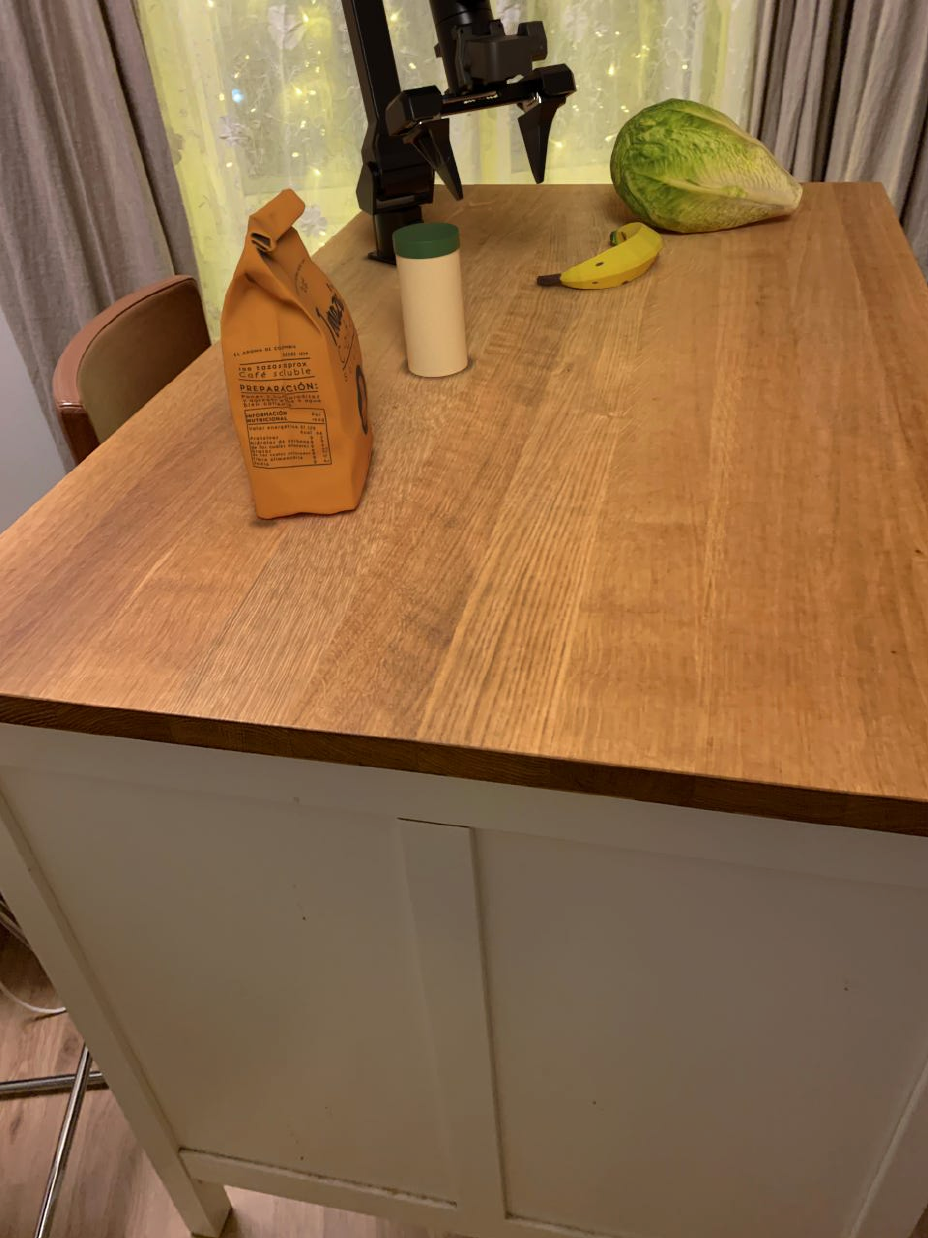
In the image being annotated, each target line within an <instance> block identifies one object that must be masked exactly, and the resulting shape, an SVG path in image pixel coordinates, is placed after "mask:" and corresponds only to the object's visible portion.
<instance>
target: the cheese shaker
mask: <svg viewBox="0 0 928 1238" xmlns="http://www.w3.org/2000/svg"><path fill="white" fill-rule="evenodd" d="M392 236H393V245H394V252H395V254H396V262H397V265H396V270H397V281H398V286H399V295H400V296H399V297H400V305H401V314H402V322H403V330H404V332H403V333H404V339H405V349H406V358H407V367H408V371H410V373H412V374H414V375H416V376H419V377H426V378H439V377H440V378H441V377H446V376H452V375H455V374H458V373H459V372H461V371H463V370H464V369H466V368H467V366H468V363H469V362H468V348H467V347H468V346H467V333H466V321H465V319H466V318H465V307H464V294H463V279H462V268H461V267H462V266H461V254H460V247H461V241H460V229H459V227H458V226H457V225H454V224H452V223H448V222H439V221H437V222H434V221H433V222H431V221H430V222H424V223H419V224H413V225H409V226H406V227H403V228H400V229H398V230H396V231H395V232H394V233H393V235H392Z"/></svg>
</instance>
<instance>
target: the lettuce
mask: <svg viewBox="0 0 928 1238" xmlns="http://www.w3.org/2000/svg"><path fill="white" fill-rule="evenodd" d="M609 175H610V180H611V183H612V185H613V188H614V190H615V193H616V194H617V196H618V197H619V198H620V199H621V201H622V202H623V203H624V204H625V205H626V207H627V208H628V209H629V211H630V212H631V213H632V214H633V215H634V216H635V217H637V218H639V219H641V220H642V221H644V222H646V223H647V224H649V225H651V226H654V227H657V228H661V229H665V230H668V231H674V232H677V233H683V234H686V233H689V234H690V233H707V232H715V231H720V230H725V229H732V228H736V227H740V226H745V225H748V224H750V223H751V224H752V223H754V222H760V221H763V220H767V219H771V218H775V217H776V218H777V217H780V216H786V215H792V214H793V213H794V212H795V211H796V210H797V208H798V207H799V205H801V203H802V198H803V192H804V187H803V186H802V184H800V183H799V181H797V179H796V178H795V177H794V176H793V175H791V173H790V172H788V171H787V170H786V168H785V167H784V166H783V165H782V163H781V162H780V161H779V160H778V159H777V158H776V156H775V155H773V153H772V152H771V151H770V150H769V148H768V147H767V146H766V145H765V144H764V143H763V142H762V141H761V140H759V139H757V138H756V137H755V136H753V135H752V134H751V133H749V132H747V130H745V129H744V128H742V127H741V126H740V125H739V124H738V123H736V122H735V121H734V120H733V119H732V118H730V116H728V115H727V114H726V113H724V112H722V111H721V110H720V111H719V110H717V109H715V108H713V107H711V106H707V105H705V104H702V103H699V102H696V101H695V100H691V99H690V100H689V99H683V98H675V97H671V98H668V99H665V100H663V101H660V102H658V103H655V104H652V105H649V106H647V107H645V108H642V109H641V110H640V111H638V112H637V113H636V114H634V115H633V116H632V117H631V118H629V119H628V120H626V121H625V122H624V124H623V126H622V127H621V128H620V130H619V131H618V133H617V135H616V137H615V141H614V144H613V147H612V150H611V154H610V160H609Z"/></svg>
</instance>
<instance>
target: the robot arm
mask: <svg viewBox="0 0 928 1238" xmlns="http://www.w3.org/2000/svg"><path fill="white" fill-rule="evenodd" d="M340 2H341V6H342V11H343V15H344V20H345V24H346V29H347V33H348V38H349V42H350V47H351V51H352V52H351V53H352V56H353V60H354V61H353V62H354V65H355V69H356V70H355V71H356V74H357V80H358V84H359V88H360V93H361V97H362V98H361V99H362V102H363V107H364V112H365V116H366V120H367V128H366V132H365V134H364V139H363V142H362V146H361V150H360V156H361V162H362V166H361V169H360V172H359V177H358V180H357V184H356V188H355V196H356V201H357V204H358V208H359V210H361V211H362V212H364V213H366V214H368V215H369V216H372V225H373V233H374V240H375V241H374V243H375V250H372V251H370V252H368V253H367V257H368V258H369V259H373V260H376V261H380V262H384V263H388V264H392V265H396V266H397V262H396V254H395V252H394V245H393V236H392V235H393V233H394V232H395V231H396V230H398V229H400V228H403V227H406V226H409V225H413V224H419V223H425V220H424V219H423V218H424V217H423V210H422V209H423V207H422V206H423V205H431V204H433V203H434V196H435V180H436V174H437V175H438V177H439V178H440V180H441V181H442V183H443V184H444V185H445V187H446V189H447V190H448V191H449V192H450V194H451V195H452V197H453V198H454V199H455V201H457V202H460V201H463V200H464V191H463V185H462V180H461V176H460V172H459V168H458V165H457V161H456V158H455V154H454V151H453V146H452V143H451V139H450V138H451V137H450V135H451V134H450V133H451V131H450V130H451V129H450V128H451V127H450V126H451V125H450V124H451V123H450V122H451V121H450V117H449V116H455V115H461V114H466V113H471V112H478V111H483V110H489V109H494V108H499V107H505V106H511V105H516V107H517V108H519V109H520V110H521V111H523V114H521V115H520V116H518V117H517V123H518V126H519V130H520V134H521V137H522V138H521V139H522V141H523V145H524V150H525V154H526V157H527V160H528V165H529V168H530V171H531V175H532V177H533V179H534V182H535V184H536V185H540V184H542V183H544V181H545V176H546V166H547V157H548V148H549V139H550V135H551V133H550V132H551V129H552V123H553V120H554V118H555V115H556V113H557V111H558V109H560V108H562V107H563V106H564V105H566V103H567V99H568V97H570V96H571V95H573V94H574V93H576V92H578V89H577V83H576V79H575V73H574V71H573V70H572V69H571V68H570V67H569V66H568V65H567V63H565V62H564V63H558V64H552V65H545V66H540V67H534V68H533V66H534V65H533V62H540V61H545V60H546V59H547V57H548V54H549V53H548V52H549V51H548V49H549V47H548V37H547V33H546V30H545V26H544V22H543V20H531V21H530V20H529V21H525V22H520V23H518V25H517V30H516V33H512V34H507V33H506V31H505V27H504V24H503V22H502V19H501V18H494V13H493V8H492V5H491V0H428V4H429V7H430V12H431V16H432V20H433V25H434V29H435V30H434V31H435V34H436V39H437V43H436V44H435V45H434V46H433V51H434V55H435V58H436V59H439V58H441V60H442V66H443V70H444V74H445V79H446V83H447V88H446V89H445V90H444V91H443V94H442V91H441V90H440V89H439V88H438V86H437V85H436V84H432V85H424V86H420V87H414V88H408V89H402V87H401V82H400V77H399V73H398V68H397V63H396V58H395V53H394V48H393V43H392V39H391V34H390V33H391V32H390V29H389V24H388V20H387V15H386V10H385V9H386V8H385V5H384V0H340ZM518 76H521V77H522V78H520V79H519V80H518V81H515V82H509V83H508V81H510V80H514V79H515V78H517V77H518Z"/></svg>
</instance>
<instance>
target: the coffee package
mask: <svg viewBox="0 0 928 1238" xmlns="http://www.w3.org/2000/svg"><path fill="white" fill-rule="evenodd" d="M305 210H306V203H305V202H304V200H303V199H302V198H301V197H300V196H299V195H298V194H297V192H295V191H294V190H293V189H292V188H285V189H282V190H281V191H280V193H278V194H277V195H276V196H275V197H274V198H272V199H271V200H269V201H268V202H267V203H265V204H264V205H263V206H262V207H260V208H259V209H258V210H257V211H256V212H254V213H252V214H249V216H248V220H247V231H246V234H245V239H244V245H243V249H242V252H241V254H240V256H239V258H238V259H239V260H238V262H237V263H236V266H235V269H234V272H233V275H232V279H231V280H230V283H229V285H228V288H227V290H226V292H225V295H224V301H223V305H222V311H221V317H220V321H219V322H220V324H219V325H220V340H221V341H220V343H221V352H222V361H223V369H224V377H225V383H226V389H227V394H228V400H229V401H228V402H229V407H230V414H231V418H232V421H233V424H234V425H233V426H234V428H235V431H236V434H237V438H238V441H239V445H240V451H241V454H242V458H243V462H244V465H245V469H246V471H247V474H248V475H247V476H248V480H249V483H250V488H251V494H252V497H253V503H254V509H255V514H256V516H257V517H259V518H261V519H265V520H271V519H274V518H280V517H286V516H290V515H295V514H298V513H310V514H321V515H332V514H336V513H339V512H343V511H350V510H354V509H356V508H357V506H358V504H359V502H360V500H361V497H362V494H363V490H364V487H365V483H366V480H367V475H368V472H369V468H370V462H371V456H372V452H373V445H374V434H373V430H372V425H371V421H370V420H371V419H370V412H369V399H368V388H367V387H368V386H367V382H366V381H367V380H366V377H365V373H364V365H363V356H362V351H361V350H362V349H361V345H360V340H359V334H358V331H357V328H356V327H355V323H354V321H353V318H352V315H351V313H350V310H349V307H348V305H347V304H346V301H345V299H344V297H343V296H342V295H341V293H340V292H339V291H338V289H337V288H336V286H335V285H334V283H333V282H332V281H331V280H330V279H329V277H328V276H327V275H326V273H325V272H324V271H323V270H322V269H321V268H320V267H319V265H317V264H316V263H315V261H313V259H312V258H311V256H310V254H309V251H308V249H307V247H306V245H305V243H304V241H303V239H302V238H301V235H300V234H299V232H298V230H297V228H295V227H293V225H295V223H296V222H297V220H299V219H300V218H301V217H302V216H303V214H304V212H305Z"/></svg>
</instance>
